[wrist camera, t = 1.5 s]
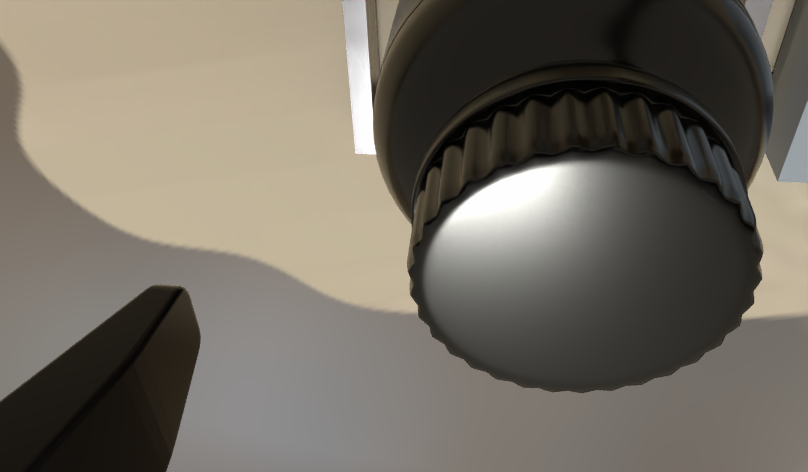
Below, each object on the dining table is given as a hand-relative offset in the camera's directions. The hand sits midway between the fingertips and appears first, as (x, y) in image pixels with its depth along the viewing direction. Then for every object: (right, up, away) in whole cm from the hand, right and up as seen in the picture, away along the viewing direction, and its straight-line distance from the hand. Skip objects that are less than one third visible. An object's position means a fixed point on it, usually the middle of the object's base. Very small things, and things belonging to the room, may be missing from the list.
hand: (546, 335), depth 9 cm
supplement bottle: (+2, +8, +10) cm, 13 cm away
